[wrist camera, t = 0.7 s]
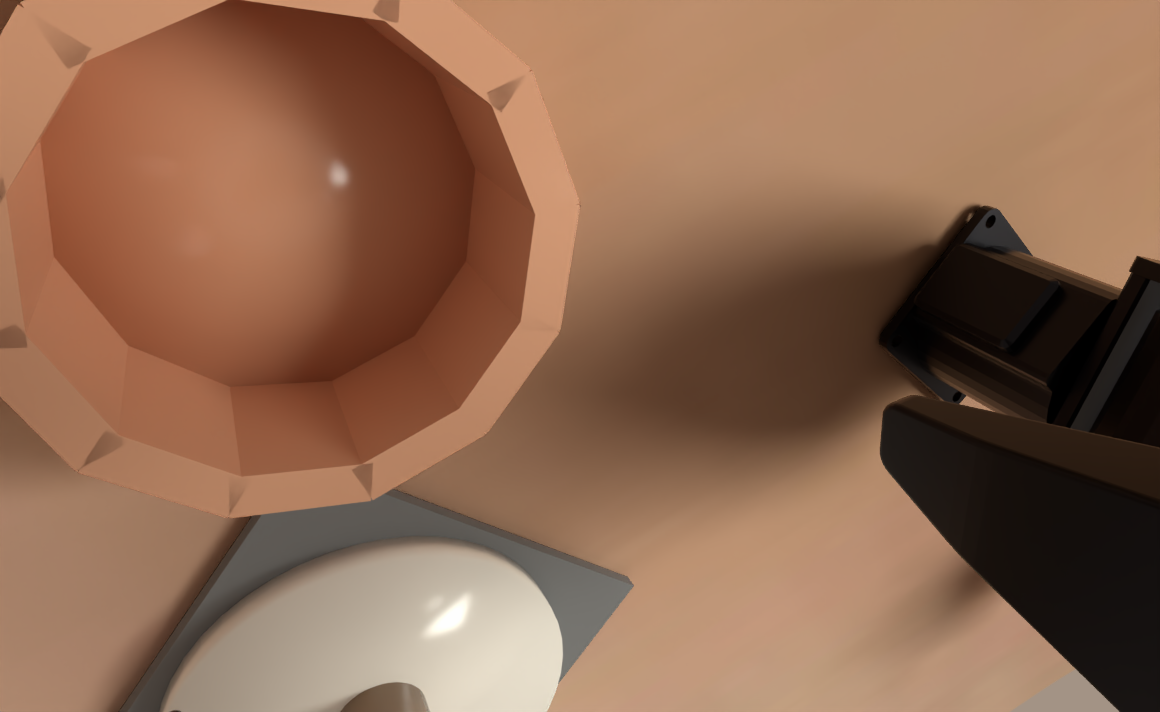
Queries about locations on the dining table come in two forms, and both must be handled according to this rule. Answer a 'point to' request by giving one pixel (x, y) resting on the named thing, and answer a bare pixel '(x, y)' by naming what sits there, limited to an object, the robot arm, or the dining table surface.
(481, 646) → the lid
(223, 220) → the bowl
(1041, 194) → the dining table surface
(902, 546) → the dining table surface
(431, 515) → the mat
